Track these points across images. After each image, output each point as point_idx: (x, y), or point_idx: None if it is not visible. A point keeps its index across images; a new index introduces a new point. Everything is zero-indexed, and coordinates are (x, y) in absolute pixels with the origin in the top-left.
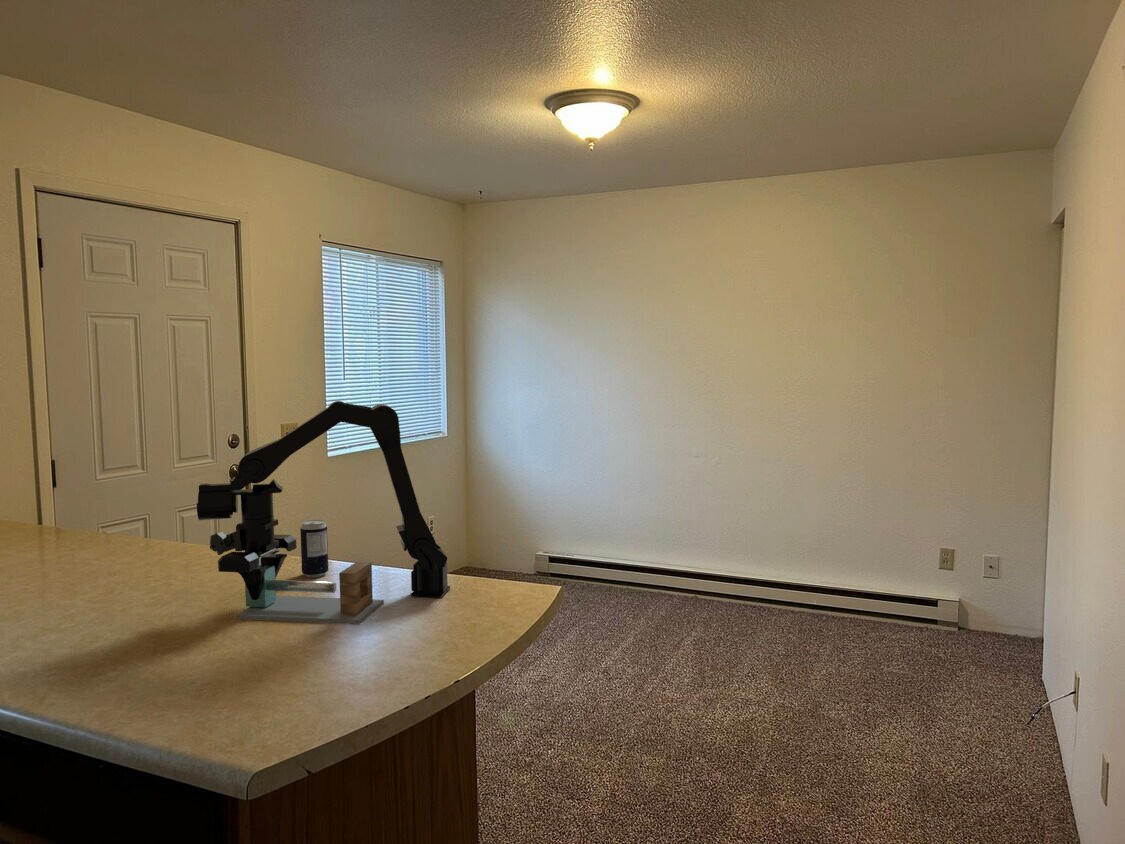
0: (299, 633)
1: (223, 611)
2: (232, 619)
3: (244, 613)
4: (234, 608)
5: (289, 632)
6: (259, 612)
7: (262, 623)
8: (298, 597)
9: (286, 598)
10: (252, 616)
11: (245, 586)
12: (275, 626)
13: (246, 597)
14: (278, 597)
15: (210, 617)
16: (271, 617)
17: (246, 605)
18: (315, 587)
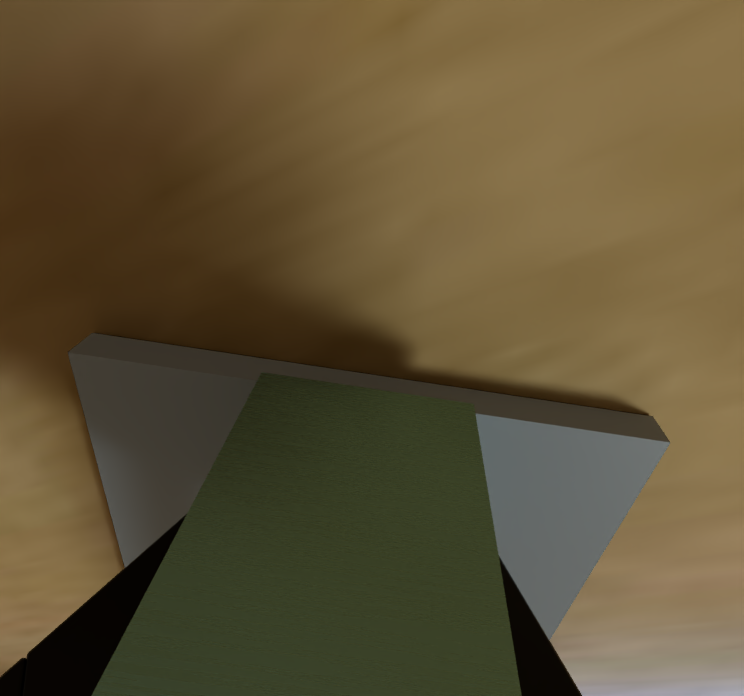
0: (26, 651)
1: (276, 87)
2: (77, 299)
3: (121, 400)
4: (389, 177)
5: (18, 624)
6: (175, 488)
7: (80, 507)
8: (537, 618)
9: (529, 565)
10: (102, 460)
11: (164, 563)
12: (63, 568)
13: (231, 442)
14: (574, 516)
15: (46, 22)
16: (129, 555)
17: (259, 382)
18: None
